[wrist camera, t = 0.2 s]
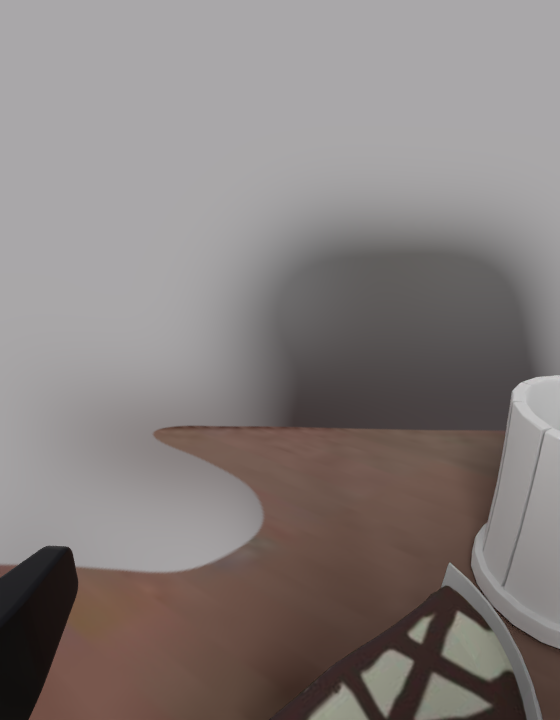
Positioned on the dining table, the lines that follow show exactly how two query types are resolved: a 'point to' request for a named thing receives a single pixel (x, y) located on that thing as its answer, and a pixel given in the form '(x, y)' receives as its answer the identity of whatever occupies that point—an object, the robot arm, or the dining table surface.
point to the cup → (526, 516)
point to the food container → (428, 668)
